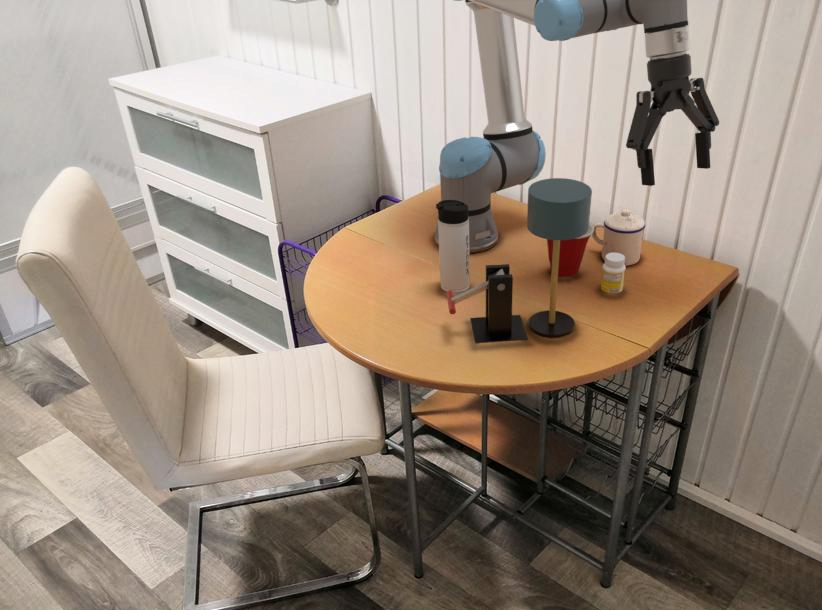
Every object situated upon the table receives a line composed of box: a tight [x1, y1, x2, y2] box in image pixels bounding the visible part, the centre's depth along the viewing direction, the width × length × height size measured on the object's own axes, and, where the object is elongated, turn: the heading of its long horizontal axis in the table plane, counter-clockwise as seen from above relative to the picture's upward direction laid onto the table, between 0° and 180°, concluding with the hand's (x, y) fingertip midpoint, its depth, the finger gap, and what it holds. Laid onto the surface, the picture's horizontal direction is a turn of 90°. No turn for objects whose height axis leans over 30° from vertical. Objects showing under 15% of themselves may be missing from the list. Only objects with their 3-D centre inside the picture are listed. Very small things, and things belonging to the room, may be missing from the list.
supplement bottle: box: [600, 253, 627, 294], centre depth 154 cm, size 5×5×8 cm
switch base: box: [470, 263, 528, 344], centre depth 140 cm, size 10×9×14 cm
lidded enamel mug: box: [591, 208, 646, 267], centre depth 167 cm, size 12×9×12 cm
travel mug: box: [435, 200, 471, 294], centre depth 153 cm, size 6×7×20 cm
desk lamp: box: [526, 177, 593, 339], centre depth 137 cm, size 11×11×29 cm
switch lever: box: [446, 269, 505, 315], centre depth 138 cm, size 12×7×2 cm, turn 95°
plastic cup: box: [546, 222, 594, 278], centre depth 160 cm, size 11×11×12 cm
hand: (676, 176), depth 139 cm, fingers open, 13 cm apart
